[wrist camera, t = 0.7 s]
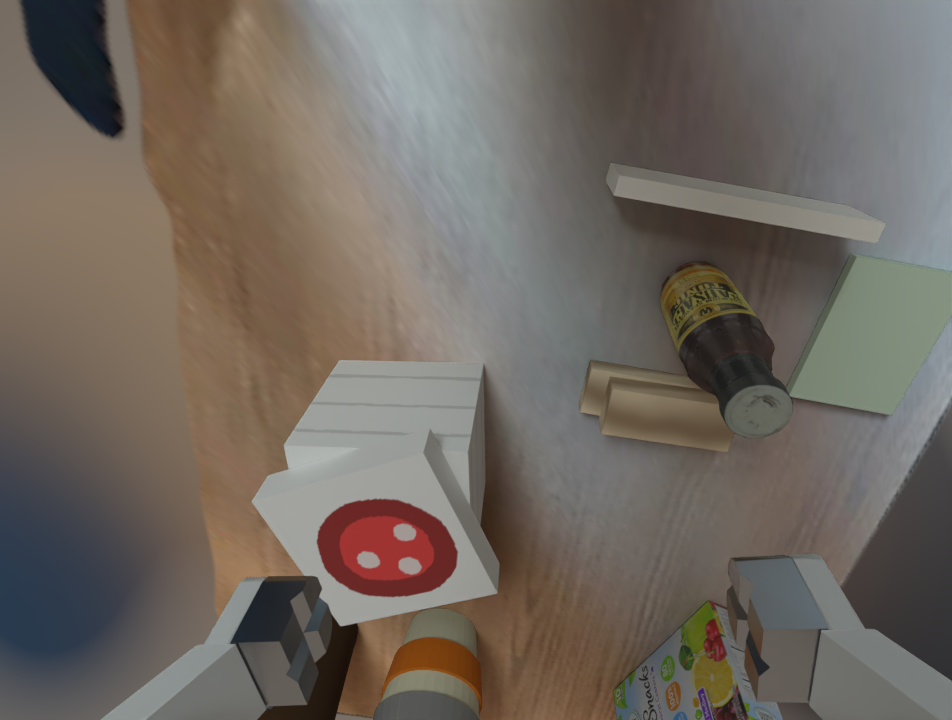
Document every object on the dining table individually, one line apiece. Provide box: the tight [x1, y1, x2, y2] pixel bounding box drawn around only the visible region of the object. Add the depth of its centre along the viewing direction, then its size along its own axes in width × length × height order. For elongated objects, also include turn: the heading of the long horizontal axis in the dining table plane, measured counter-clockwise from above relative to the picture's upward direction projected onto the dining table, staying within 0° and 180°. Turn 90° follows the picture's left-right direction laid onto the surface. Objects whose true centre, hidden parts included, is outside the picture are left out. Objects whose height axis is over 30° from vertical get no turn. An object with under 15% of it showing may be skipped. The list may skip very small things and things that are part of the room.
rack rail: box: [606, 163, 886, 243], centre depth 46 cm, size 2×20×6 cm, turn 81°
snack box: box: [613, 601, 783, 720], centre depth 68 cm, size 21×6×15 cm, turn 154°
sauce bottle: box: [660, 262, 793, 438], centre depth 44 cm, size 7×6×20 cm
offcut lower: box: [579, 360, 701, 416], centre depth 57 cm, size 5×14×2 cm, turn 82°
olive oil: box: [257, 614, 358, 720], centre depth 68 cm, size 11×11×25 cm
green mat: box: [786, 253, 952, 415], centre depth 52 cm, size 14×10×1 cm
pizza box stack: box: [252, 360, 500, 626], centre depth 57 cm, size 19×30×18 cm, turn 1°
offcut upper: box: [599, 376, 735, 452], centre depth 55 cm, size 5×12×2 cm, turn 84°
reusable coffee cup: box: [373, 608, 482, 720], centre depth 70 cm, size 13×13×15 cm
